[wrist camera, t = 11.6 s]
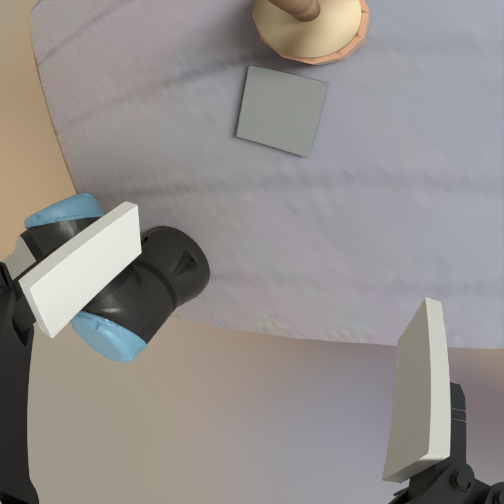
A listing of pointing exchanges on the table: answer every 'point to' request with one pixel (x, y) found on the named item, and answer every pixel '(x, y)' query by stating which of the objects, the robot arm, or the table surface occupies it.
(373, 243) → the table surface
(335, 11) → the lid
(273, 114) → the mat
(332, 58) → the bowl
